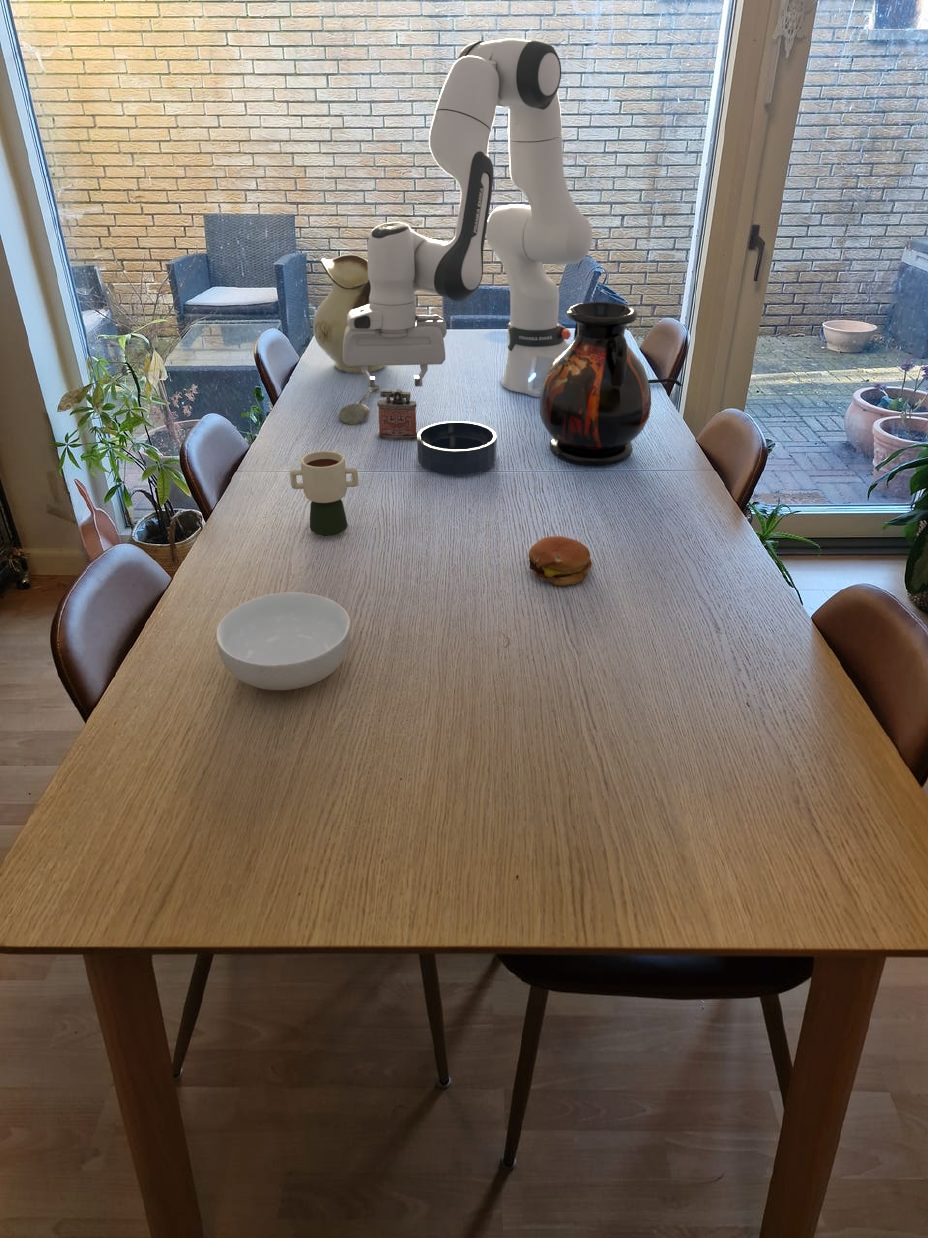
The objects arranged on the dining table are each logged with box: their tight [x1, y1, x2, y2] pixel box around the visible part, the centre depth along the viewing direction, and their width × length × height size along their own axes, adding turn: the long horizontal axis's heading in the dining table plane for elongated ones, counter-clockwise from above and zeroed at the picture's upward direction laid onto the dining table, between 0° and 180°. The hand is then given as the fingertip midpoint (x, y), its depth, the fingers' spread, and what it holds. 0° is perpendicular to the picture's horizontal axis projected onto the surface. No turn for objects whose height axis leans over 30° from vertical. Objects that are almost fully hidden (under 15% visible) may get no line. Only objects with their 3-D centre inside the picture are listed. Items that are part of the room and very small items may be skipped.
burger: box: [527, 535, 593, 587], centre depth 136 cm, size 10×9×5 cm
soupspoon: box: [338, 383, 381, 425], centre depth 198 cm, size 22×3×7 cm
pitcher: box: [312, 253, 386, 374], centre depth 217 cm, size 22×24×25 cm
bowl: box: [416, 420, 498, 476], centre depth 171 cm, size 15×15×6 cm
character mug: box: [289, 450, 359, 538], centre depth 145 cm, size 11×7×13 cm, turn 95°
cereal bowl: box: [215, 591, 352, 691], centre depth 114 cm, size 17×17×7 cm
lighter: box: [376, 388, 418, 442], centre depth 181 cm, size 8×3×10 cm, turn 84°
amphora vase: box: [539, 301, 652, 468], centre depth 169 cm, size 22×22×28 cm
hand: (395, 386), depth 178 cm, fingers open, 8 cm apart
